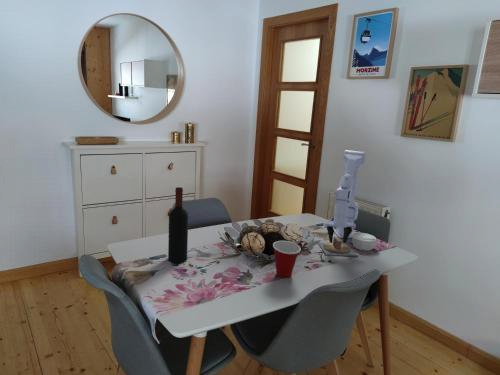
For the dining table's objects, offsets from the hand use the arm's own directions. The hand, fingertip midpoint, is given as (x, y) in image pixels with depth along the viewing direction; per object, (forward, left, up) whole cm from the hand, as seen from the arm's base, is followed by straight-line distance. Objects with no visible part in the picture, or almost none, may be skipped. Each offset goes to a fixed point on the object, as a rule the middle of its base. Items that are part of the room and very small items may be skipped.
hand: (337, 242), depth 174 cm
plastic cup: (+26, -30, -4) cm, 40 cm away
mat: (0, 0, -4) cm, 4 cm away
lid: (0, 0, -3) cm, 3 cm away
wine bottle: (+14, -72, -4) cm, 73 cm away
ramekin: (-4, +14, -4) cm, 16 cm away
